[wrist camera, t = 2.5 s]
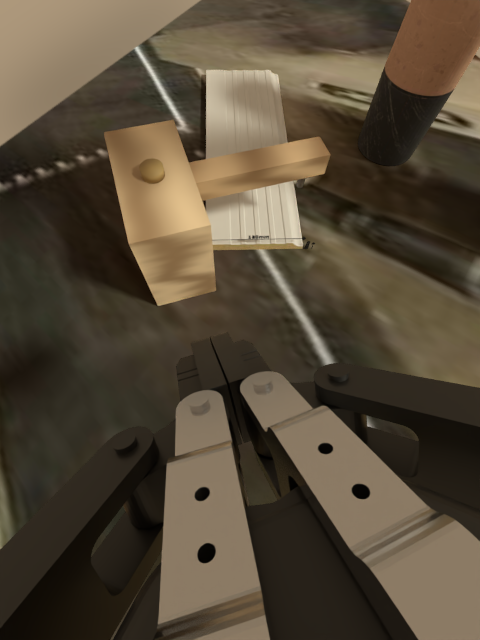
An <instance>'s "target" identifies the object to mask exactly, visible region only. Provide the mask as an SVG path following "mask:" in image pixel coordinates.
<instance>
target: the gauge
mask: <svg viewBox="0 0 480 640" xmlns="http://www.w3.org/2000/svg"><path fill="white" fill-rule="evenodd" d="M104 136H105V140H106V145H107V149H108V154H109V158H110V162H111V167H112V171H113V176H114V180H115V185H116V189H117V194H118V198H119V203H120V207H121V212H122V216H123V221H124V225H125V229H126V234H127V238H128V243H129V246H130V248H131V250H132V252H133V254H134V256H135V258H136V260H137V263H138V265H139V267H140V269H141V271H142V273H143V275H144V277H145V279H146V282H147V284H148V286H149V288H150V290H151V292H152V294H153V296H154V299H155V301H156V303H157V305H158V306H160V305H164V304H168V303H171V302H175V301H179V300H183V299H186V298H190V297H194V296H198V295H201V294H205V293H209V292H213V291H216V282H215V269H214V257H213V245H212V232H211V224H210V221H209V218H208V215H207V213H206V210H205V207H204V204H203V201H204V200H208V199H213V198H217V197H222V196H226V195H231V194H235V193H240V192H244V191H249V190H253V189H258V188H262V187H267V186H271V185H276V184H281V183H285V182H290V181H294V180H297V184H296V186H297V187H299V188H302V187H303V185H304V181H305V178H308V177H312V176H317V175H321V174H324V173H325V170H326V167H327V164H328V161H329V158H330V153H329V151H328V150H327V148H326V146H325V145H324V143H323V141H322V140H321V138H320V136H318V137H313V138H308V139H303V140H299V141H294V142H289V143H284V144H279V145H274V146H269V147H264V148H259V149H254V150H249V151H244V152H239V153H234V154H229V155H224V156H219V157H214V158H209V159H204V160H199V161H194V162H188V159H187V156H186V154H185V151H184V148H183V145H182V142H181V140H180V137H179V134H178V131H177V128H176V126H175V123H174V120H170V121H165V122H159V123H153V124H148V125H142V126H137V127H131V128H125V129H120V130H114V131H109V132H104Z"/></svg>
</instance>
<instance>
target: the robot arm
mask: <svg viewBox="0 0 480 640" xmlns="http://www.w3.org/2000/svg"><path fill="white" fill-rule="evenodd" d="M210 341H211V343H210ZM191 346H192V350H193V354H194V355H191V356H188V357H184V358H181V359H180V361H179V362H178V364H177V366H176V370H177V378H178V386H179V394H180V403H179V405H178V406H177V409H176V418H175V420H174V421H172V422H171V423H170V424H169V425H168V426H166V427H164V428H163V429H161V430H159V431H158V432H156V433H154V434H153V433H152V432H151V430H150V429H148V428H146V427H132V428H129V429H126V430H123V431H121V432H119V433H118V434H116V435H115V436H113V437H112V438H111V439H110V440H108V441H107V442H106V443H105V444H104V445H103V446H102V447H101V448H100V449H99V450H98V451H97V452H96V454H95V455H94V456H93V457H92V458H91V459H90V460H89V461H88V462H87V463H86V464H85V465H84V466H83V467H82V468H81V469H80V470H79V471H78V472H77V473H76V474H75V475H74V476H73V477H72V478H71V479H70V480H69V481H68V482H67V483H66V484H65V485H64V486H63V487H62V488H61V489H60V490H59V491H58V492H57V493H56V494H55V495H54V496H53V497H52V498H51V499H50V500H49V501H48V502H47V503H46V504H45V505H44V506H43V507H42V508H41V509H40V510H39V511H38V512H37V513H36V514H35V515H34V516H33V517H32V518H31V519H30V520H29V521H28V522H27V523H26V524H25V525H24V526H23V527H22V528H21V529H20V530H19V531H18V532H17V533H16V534H15V535H14V536H13V537H12V538H11V539H10V540H9V541H8V543H7V544H6V545H5V546H4V547H3V548H2V549H1V550H0V640H110V639H111V637H112V635H113V634H114V632H115V630H116V628H117V627H118V625H119V623H120V622H121V620H122V618H123V616H124V615H125V613H126V611H127V610H128V608H129V606H130V604H131V603H132V601H133V599H134V597H135V596H136V594H137V592H138V591H139V589H140V587H141V585H142V584H143V582H144V580H145V579H146V577H147V575H148V573H149V572H150V570H151V568H152V566H153V565H154V563H155V561H156V560H157V558H158V556H159V554H160V553H161V551H162V562H161V563H160V564H159V565H158V567H157V568H156V569H155V570H154V571H153V573H152V574H151V575H150V576H149V578H148V579H147V581H146V582H145V584H144V585H143V587H142V588H141V590H140V592H139V593H138V595H137V597H136V599H135V600H134V602H133V604H132V606H131V608H130V610H129V611H128V613H127V615H126V617H125V619H124V621H123V622H122V624H121V626H120V628H119V630H118V632H117V633H116V635H115V637H114V639H113V640H480V388H477V387H471V386H466V385H461V384H455V383H450V382H444V381H439V380H433V379H428V378H422V377H417V376H411V375H406V374H400V373H395V372H389V371H384V370H379V369H373V368H368V367H362V366H357V365H351V364H345V363H334V364H328V365H325V366H323V367H321V368H319V369H318V370H317V371H316V372H315V374H314V381H313V382H303V383H290V382H288V381H287V380H286V379H285V378H284V377H283V376H282V375H281V374H279V373H276V372H272V371H271V370H270V368H269V367H268V365H267V364H266V362H265V361H264V360H263V358H262V357H261V356H260V354H259V352H258V351H257V349H256V348H255V347H254V345H253V344H252V343H250V342H248V341H245V340H241V341H238V342H235V343H233V341H232V339H231V337H230V335H229V334H228V332H226V333H223V334H219V335H216V336H212V337H210V340H209V338H206V339H202V340H199V341H195V342H192V343H191ZM366 415H368V416H371V417H375V418H379V419H382V420H386V421H390V422H393V423H397V424H400V425H404V426H406V427H408V428H410V429H411V430H413V431H414V432H415V433H416V435H417V436H418V439H419V441H415V440H411V439H408V438H405V437H401V436H398V435H394V434H391V433H388V432H384V431H381V430H378V429H374V428H371V427H367V417H366ZM238 428H239V429H238ZM239 430H240V433H241V436H242V438H243V441H244V443H245V442H248V441H252V444H253V446H254V450H255V454H256V458H257V461H258V463H259V465H260V467H261V469H262V471H263V473H264V475H265V477H266V479H267V481H268V483H269V485H270V487H271V489H272V491H273V492H274V494H275V496H276V498H277V501H276V502H273V503H270V504H262V505H254V506H250V504H249V499H248V495H247V490H246V486H245V481H244V477H243V472H242V468H241V464H240V452H239V448H238V445H240V444H242V441H241V437H240V433H239ZM122 506H123V507H124V509H125V513H124V514H123V515H122V517H121V518H120V519H119V521H118V522H117V523H116V525H115V526H114V527H113V529H112V530H111V531H110V533H109V534H108V535H107V537H106V538H105V539H104V541H103V542H102V543H101V545H100V546H99V548H98V549H97V550H96V552H95V553H94V554H93V556H92V557H91V553H92V549H93V547H94V544H95V542H96V541H97V539H98V537H99V536H100V535H101V533H102V532H103V531H104V530H105V528H106V527H107V526H108V524H109V523H110V522H111V520H112V519H113V518H114V516H115V515H116V514H117V513H118V511H119V510H120V509H121V507H122Z"/></svg>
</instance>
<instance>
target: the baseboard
mask: <svg viewBox="0 0 480 640" xmlns="http://www.w3.org/2000/svg"><path fill="white" fill-rule="evenodd" d="M284 143H288V141H287V134H286V127H285V120H284V114H283V107H282V100H281V93H280V86H279V80H278V74H276V75H275V74H273V73H272V72H271V71H270V70H265V71H258V70H254V71H247V70H243V71H236V70H232V71H225V70H206V159H209V158H214V157H219V156H224V155H229V154H234V153H239V152H244V151H249V150H254V149H259V148H264V147H269V146H274V145H279V144H284ZM206 213H207V215H208V218H209V221H210V224H211V232H212V245H213V250H243V249H302V248H303V243H302V240H304V239H306V238H305V237H304V236H303V238H302V236H301V229H300V222H299V216H298V209H297V202H296V195H295V188H294V182H293V181H290V182H285V183H281V184H276V185H271V186H267V187H262V188H258V189H253V190H249V191H244V192H240V193H235V194H231V195H226V196H222V197H217V198H213V199H208V200H206ZM308 242H310V241H308ZM308 242H307V243H308ZM312 244H315V243H312ZM308 246H309V244H306V246H305V248H304V249H308ZM312 247H313V245H312ZM311 249H312V248H311Z"/></svg>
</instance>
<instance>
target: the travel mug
mask: <svg viewBox="0 0 480 640" xmlns="http://www.w3.org/2000/svg"><path fill="white" fill-rule="evenodd" d="M479 47H480V0H411V3H410V5H409V7H408V10H407V12H406V15H405V17H404V20H403V22H402V25H401V27H400V30H399V32H398V35H397V37H396V40H395V42H394V45H393V47H392V49H391V52H390V54H389V57H388V59H387V62H386V65H385V67H384V70H383V72H382V75H381V78H380V81H379V83H378V86H377V89H376V92H375V94H374V97H373V100H372V102H371V105H370V108H369V111H368V113H367V116H366V119H365V122H364V124H363V127H362V130H361V133H360V136H359V139H358V147H359V150H360V151H361V153H362V154H363V155H364V156H365V157H366V158H367V159H369V160H371V161H372V162H375V163H377V164H380V165H385V166H395V165H400V164H402V163H404V162H406V161H407V160H408V159H409V158H410V157H411V155H412V154H413V152H414V151H415V149H416V148H417V146H418V145H419V143H420V141H421V140H422V138H423V137H424V135H425V134H426V132H427V131H428V129H429V127H430V126H431V124H432V123H433V121H434V120H435V118H436V117H437V115H438V114H439V112H440V110H441V109H442V107H443V106H444V104H445V103H446V101H447V100H448V98H449V96H450V95H451V93H452V92H453V90H454V88H455V87H456V85H457V84H458V82H459V80H460V79H461V77H462V75H463V74H464V72H465V70H466V69H467V67H468V65H469V64H470V62H471V60H472V59H473V57H474V55H475V54H476V52H477V50H478V49H479Z"/></svg>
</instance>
